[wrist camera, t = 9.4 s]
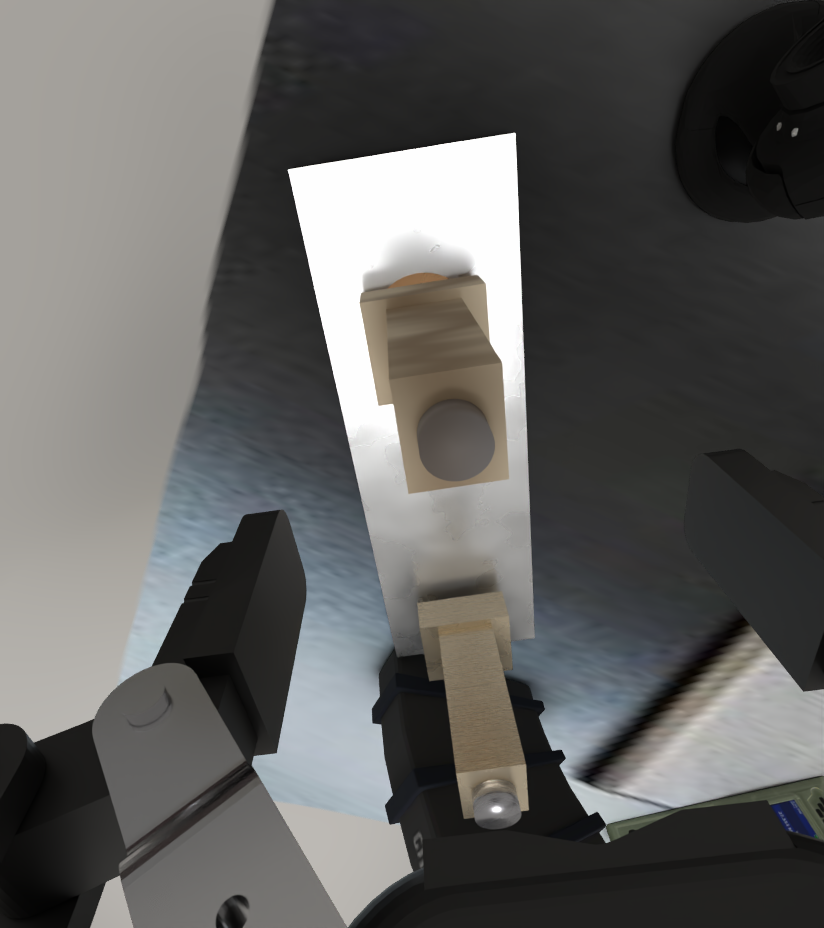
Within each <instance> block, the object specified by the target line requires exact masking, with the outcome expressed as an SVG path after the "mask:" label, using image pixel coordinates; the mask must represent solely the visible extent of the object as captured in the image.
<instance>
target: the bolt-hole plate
mask: <svg viewBox="0 0 824 928" xmlns="http://www.w3.org/2000/svg"><path fill="white" fill-rule="evenodd" d="M288 171H289V176H290V180H291V185H292V189H293V194H294V198H295V203H296V207H297V212H298V216H299V221H300V225H301V230H302V234H303V239H304V243H305V248H306V252H307V257H308V261H309V266H310V270H311V275H312V279H313V283H314V288H315V292H316V297H317V301H318V306H319V310H320V315H321V319H322V324H323V328H324V333H325V337H326V342H327V346H328V351H329V355H330V360H331V364H332V369H333V373H334V378H335V382H336V387H337V391H338V395H339V400H340V404H341V409H342V413H343V418H344V422H345V427H346V431H347V436H348V440H349V445H350V449H351V454H352V458H353V463H354V467H355V472H356V476H357V481H358V485H359V490H360V494H361V499H362V503H363V508H364V512H365V516H366V521H367V525H368V530H369V534H370V539H371V543H372V548H373V552H374V557H375V561H376V566H377V570H378V575H379V579H380V584H381V588H382V593H383V597H384V602H385V606H386V611H387V615H388V620H389V624H390V628H391V633H392V637H393V642H394V646H395V651H396V655H397V657H403V656H410V655H418V654H424V655H425V660H426V666H427V671H428V677H429V681H435V680H442V679H444V681H445V689H446V697H447V705H448V713H449V721H450V729H451V736H452V744H453V752H454V760H455V768H456V776H457V781H458V787H459V793H460V799H461V805H462V811H463V817H464V819H467V818H474V817H475V822H476V823H477V824H478V825H479V826H480V827H483V828H486V829H503V828H506V827H509V826H511V825H513V824H515V823H516V822H518V821H519V819H520V818H521V811H527V810H529V807H528V790H527V773H526V762H525V758H524V754H523V750H522V746H521V742H520V738H519V734H518V730H517V725H516V721H515V717H514V713H513V709H512V705H511V701H510V697H509V693H508V689H507V685H506V681H505V677H504V672H503V671H507V670H513V666H512V652H511V641H517V640H524V639H531V638H535V635H534V609H533V582H532V556H531V529H530V503H529V477H528V450H527V424H526V397H525V371H524V345H523V318H522V292H521V266H520V239H519V213H518V186H517V160H516V134H515V133H510V134H504V135H498V136H492V137H486V138H480V139H473V140H467V141H461V142H455V143H449V144H443V145H436V146H430V147H424V148H418V149H412V150H405V151H399V152H393V153H387V154H381V155H375V156H368V157H362V158H356V159H350V160H344V161H338V162H331V163H325V164H319V165H313V166H307V167H300V168H294V169H288ZM472 275H479V276H480V278H481V279H482V280H483V281H484V282H485V283H486V291H487V305H488V320H489V334H490V344H491V345H492V347H493V348H494V350H495V352H496V353H497V355H498V356H499V358H500V360H501V361H502V365H503V382H504V399H505V416H506V433H507V450H508V467H509V479H507V480H500V481H494V482H487V483H480V484H473V485H467V486H460V487H453V488H446V489H439V490H433V491H426V492H419V493H412V494H408V488H407V482H406V476H405V470H404V465H403V459H402V453H401V447H400V441H399V435H398V429H397V423H396V418H395V412H394V406H393V404H389V405H383V406H378V402H377V397H376V391H375V386H374V380H373V375H372V370H371V364H370V359H369V353H368V348H367V343H366V337H365V332H364V326H363V321H362V316H361V310H360V305H359V301H360V295H361V293H363V292H369V291H375V290H382V289H388V288H395V287H401V286H407V285H414V284H420V283H427V282H433V281H439V280H446V279H452V278H459V277H465V276H472Z"/></svg>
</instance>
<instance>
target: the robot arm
mask: <svg viewBox="0 0 824 928" xmlns="http://www.w3.org/2000/svg"><path fill="white" fill-rule="evenodd" d="M684 532H685V536H686V540H687V543H688V545H689V547H690V549H691V551H692V552H693V554H694V555H695V556H696V557H697V559H698V560H699V561H700V562H701V564H702V565H703V566H704V567H705V569H706V570H707V571H708V572H709V574H710V575H711V576H712V577H713V579H714V580H715V581H716V582H717V584H718V585H719V586H720V587H721V589H722V590H723V591H724V593H725V594H726V595H727V596H728V598H729V599H730V600H731V601H732V603H733V604H734V605H735V606H736V608H737V609H738V610H739V611H740V613H741V614H742V615H743V616H744V618H745V619H746V620H747V621H748V623H749V624H750V625H751V626H752V628H753V629H754V630H755V631H756V633H757V634H758V635H759V636H760V638H761V639H762V640H763V641H764V643H765V644H766V645H767V646H768V648H769V649H770V650H771V651H772V653H773V654H774V655H775V656H776V658H777V659H778V660H779V662H780V663H781V664H782V665H783V667H784V668H785V669H786V670H787V672H788V673H789V674H790V675H791V677H792V678H793V679H794V680H795V682H796V683H797V684H798V685H799V687H800V688H801V689H802V690H803V692H804V691H812V690H821V689H824V497H823V496H821V495H820V494H819V493H817V492H816V491H815V490H813V489H812V488H811V487H809V486H808V485H807V484H805V483H803V482H801V481H799V480H796V479H794V478H792V477H789V476H787V475H784V474H782V473H780V472H777V471H775V470H773V471H770V470H769V469H768V468H767V467H765V466H764V465H763V464H762V463H760V462H759V461H758V460H756V459H755V458H754V457H753V456H751V455H750V454H749V453H748V452H746V451H745V450H742V449H734V450H727V451H719V452H712V453H704V454H699V455H697V456H696V457H695V458H694V460H693V462H692V466H691V473H690V480H689V487H688V494H687V501H686V509H685V516H684ZM305 602H306V579H305V573H304V569H303V566H302V562H301V559H300V556H299V552H298V549H297V546H296V542H295V539H294V536H293V532H292V529H291V526H290V523H289V519H288V517H287V514H286V513H285V511H284V510H276V511H269V512H261V513H254V514H246V515H244V516H243V518H242V520H241V522H240V524H239V527H238V529H237V531H236V534H235V536H234V539H233V541H232V542H227V543H220V544H219V545H218V546H217V547H216V548H215V549H214V550H213V551H212V552H211V553H210V554H209V555H208V556H207V557H206V558H205V559H204V560H203V561H202V562H201V564H200V566H199V568H198V571H197V573H196V575H195V577H194V579H193V581H192V586H190V587H189V589H188V591H187V594H186V596H185V598H184V603H182V604H181V606H180V608H179V610H178V612H177V615H176V617H175V619H174V621H173V623H172V625H171V627H170V629H169V631H168V633H167V636H166V638H165V640H164V642H163V644H162V646H161V648H160V650H159V652H158V654H157V656H156V659H155V661H154V663H153V665H152V667H149V668H147V669H144V670H142V671H140V672H138V673H136V674H134V675H133V676H131V677H130V678H128V679H127V680H125V681H124V682H123V683H121V684H120V685H119V686H118V687H117V688H116V689H115V690H113V691H112V692H111V693H110V695H109V696H108V697H107V698H106V699H105V700H104V702H103V703H102V705H101V706H100V708H99V709H98V712H97V714H96V716H95V719H93V720H90V721H88V722H86V723H83V724H81V725H78V726H75V727H73V728H71V729H68V730H65V731H63V732H60V733H58V734H55V735H53V736H50V737H47V738H45V739H42V740H40V741H37V742H35V743H33V741H32V740H31V739H30V738H29V737H28V735H27V734H26V733H25V731H24V730H23V729H22V728H21V727H19V726H17V725H14V724H0V928H90V926H91V923H92V921H93V917H94V915H95V912H96V909H97V906H98V903H99V900H100V898H101V895H102V892H103V889H104V886H105V883H106V882H107V881H109V880H111V879H113V878H115V877H117V876H120V878H121V883H122V886H123V890H124V894H125V898H126V901H127V904H128V908H129V912H130V916H131V920H132V923H133V927H134V928H347V926H346V924H345V923H344V921H343V919H342V918H341V916H340V914H339V912H338V911H337V909H336V907H335V906H334V904H333V902H332V901H331V899H330V897H329V895H328V894H327V892H326V891H325V889H324V887H323V885H322V884H321V882H320V880H319V879H318V877H317V875H316V873H315V872H314V870H313V868H312V866H311V865H310V863H309V861H308V860H307V858H306V856H305V855H304V853H303V851H302V850H301V848H300V846H299V845H298V843H297V841H296V839H295V837H294V836H293V834H292V832H291V831H290V829H289V827H288V826H287V824H286V822H285V820H284V819H283V817H282V815H281V814H280V812H279V810H278V808H277V807H276V805H275V803H274V802H273V800H272V798H271V797H270V795H269V793H268V791H267V790H266V788H265V786H264V785H263V783H262V781H261V780H260V778H259V776H258V775H257V773H256V771H255V770H254V768H253V767H252V761H253V756H257V755H265V754H273V753H277V748H278V743H279V738H280V733H281V728H282V722H283V717H284V712H285V707H286V701H287V696H288V691H289V686H290V681H291V675H292V670H293V665H294V660H295V655H296V649H297V644H298V639H299V634H300V628H301V623H302V618H303V613H304V608H305ZM422 846H423V865H424V867H423V868H421V869H419V870H417V871H415V872H412V873H410V874H408V875H407V876H405V877H403V878H402V879H400V880H399V881H397V882H395V883H394V884H392V885H391V886H389V887H388V888H387V889H386V890H384V891H383V892H382V893H381V894H380V895H378V896H377V897H376V898H375V899H373V900H372V901H371V902H370V903H369V904H368V905H367V907H366V908H364V910H363V911H362V912H361V913H360V914H359V915H358V916H357V917H356V918H355V919H354V920H353V922H352V923H351V924H350V926H349V927H348V928H824V840H821V839H818V838H815V837H811V836H807V835H804V834H800V833H796V832H792V831H787V830H785V829H784V827H783V826H782V824H781V822H780V821H779V819H778V817H777V816H776V814H775V812H774V811H773V809H772V807H771V806H770V804H769V802H768V801H767V800H762V801H753V802H744V803H736V804H727V805H718V806H710V807H701V808H692V809H683V810H679V811H677V812H675V813H673V814H671V815H668V816H666V817H664V818H662V819H660V820H657V821H655V822H653V823H651V824H649V825H646V826H644V827H642V828H640V829H638V830H635V831H633V832H631V833H629V834H627V835H624V836H622V837H620V838H618V839H615V840H613V841H611V842H609V843H606V844H600V845H593V844H586V843H580V842H574V841H568V840H562V839H556V838H550V837H544V836H538V835H533V834H527V833H521V832H515V831H509V830H501V831H492V832H484V833H475V834H466V835H458V836H449V837H440V838H431V839H423V840H422Z"/></svg>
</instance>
